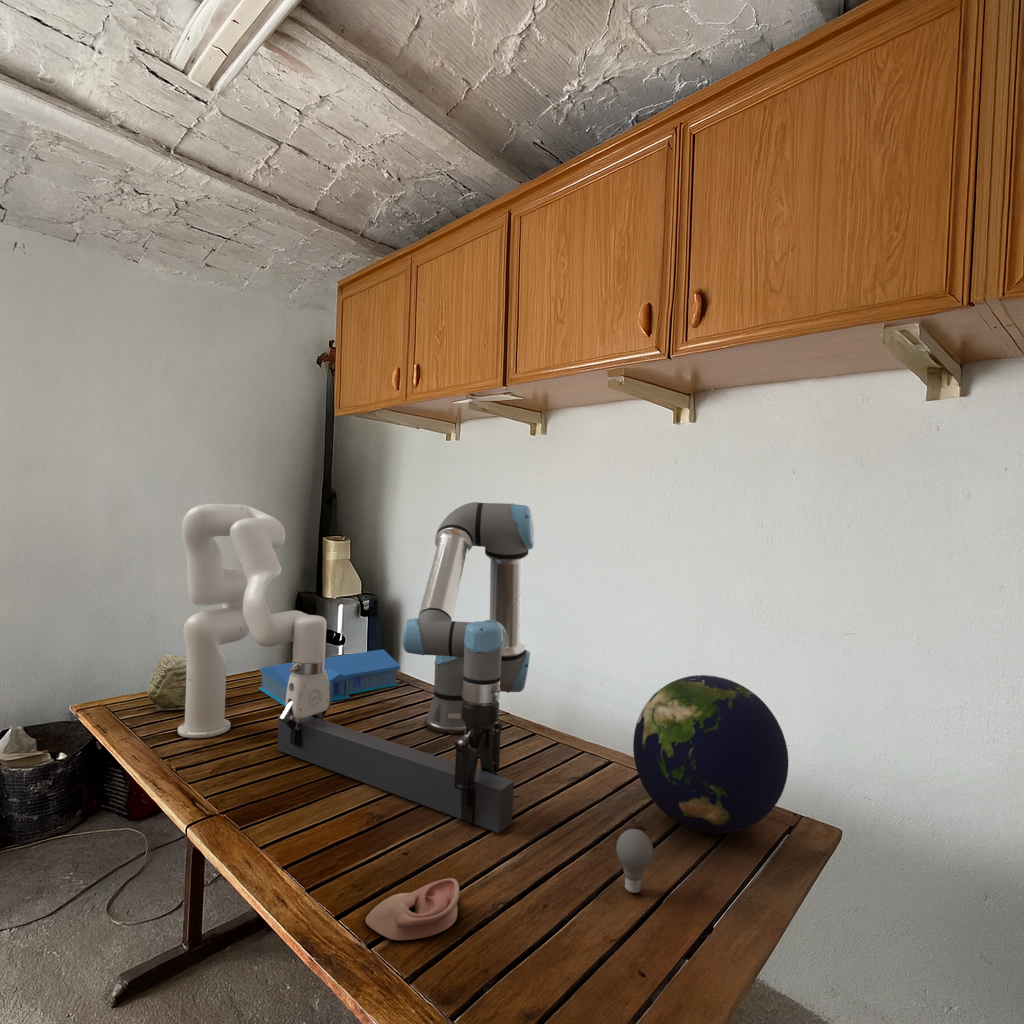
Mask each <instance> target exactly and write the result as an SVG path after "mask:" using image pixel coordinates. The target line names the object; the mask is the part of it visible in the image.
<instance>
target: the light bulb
mask: <svg viewBox="0 0 1024 1024" xmlns="http://www.w3.org/2000/svg"><path fill="white" fill-rule="evenodd" d="M615 849H616V854H617V857H618V859H619V861H620V863H621V865H622V867H623V873H624V874H623V875H624V876H625V878H624V888H625V890H627V891H628V892H630V893H634V894H635V893H639V892H640V891H641V889H642V887H641V886H642V879H643V877H644V875H645V871H646V868H647V867H648V866H649V864H650V863H651V861H652V859H653V855H654V847H653V843H652V841H651V838H649V836H648V835H647V834H646V833H645V832H643V831H642V830H641V829H636V828H629V829H627V830H625V831H623V832H622V833H621V834H620V835H619V837H618V839H617V841H616V847H615Z"/></svg>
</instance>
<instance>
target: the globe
mask: <svg viewBox="0 0 1024 1024" xmlns="http://www.w3.org/2000/svg"><path fill="white" fill-rule="evenodd" d="M632 742H633V743H632V744H633V747H632V750H633V759H634V764H635V768H636V771H637V775H638V778H639V780H640V783H641V784H642V786H643V787H644V790H645V791H646V794H648V796H649V798H650V799H651V800H652V802H653V803H654V804H655V805H656V806H657V808H658V809H660V810H661V811H662V812H663V813H664V814H665V815H667V816H668V817H669V818H670V819H672V820H674V821H675V822H676V823H678V824H680V825H682V826H684V827H686V828H689V829H691V830H694V831H698V832H701V833H705V834H714V835H723V834H731V833H732V834H733V833H737V832H740V831H744V830H746V829H748V828H750V827H753V826H754V825H756V824H758V823H759V822H760V821H762V820H763V819H764V818H765V817H766V816H768V815H769V813H771V811H772V810H773V809H774V807H775V806H776V805H777V804H778V802H779V800H780V798H781V797H782V794H783V792H784V790H785V787H786V785H787V784H786V783H787V779H788V775H789V752H788V746H787V742H786V738H785V734H784V732H783V729H782V728H781V725H780V723H779V722H778V719H777V718H776V717H775V715H774V713H773V712H772V710H771V709H770V708H769V706H768V705H767V704H766V703H765V702H764V701H763V700H762V699H761V698H760V697H759V696H758V695H757V694H756V693H754V692H753V691H751V689H748V688H747V687H746V686H744V685H742V684H740V683H738V682H736V681H733V680H732V679H728V678H725V677H720V676H719V675H718V676H717V675H711V674H699V675H696V674H695V675H689V676H685V677H681V678H677V679H675V680H673V681H671V682H669V683H667V684H666V685H664V686H662V687H661V688H659V689H658V690H657V691H656V692H655V693H653V695H652V696H651V697H650V698H649V699H648V701H646V703H645V704H644V706H643V708H642V710H641V712H640V713H639V715H638V717H637V720H636V724H635V727H634V733H633V741H632Z"/></svg>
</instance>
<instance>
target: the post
mask: <svg viewBox="0 0 1024 1024" xmlns="http://www.w3.org/2000/svg"><path fill="white" fill-rule="evenodd" d="M281 715H282V714H281ZM281 715H278V721H277V743H276V744H277V745H276V750H277V751H278V752H281V753H284V754H286V755H290V756H292V757H294V758H297V759H300V760H302V761H305V762H308V763H310V764H312V765H313V764H314V765H316V766H318V767H321V768H324V769H326V770H329V771H332V772H335V773H337V774H340V775H342V776H345V777H348V778H350V779H353V780H356V781H358V782H361V783H364V784H366V785H369V786H372V787H373V788H377V789H379V790H382V791H385V792H387V793H390V794H393V795H395V796H398V797H401V798H403V799H406V800H409V801H411V802H414V803H417V804H420V805H422V806H425V807H426V808H430V809H432V810H435V811H438V812H441V813H443V814H445V815H449V816H451V817H454V818H457V819H459V820H462V819H461V790H459V789H456V788H455V787H454V781H455V762H456V761H453V760H450V759H446V758H444V757H441V756H437V755H434V754H431V753H427V752H425V751H421V750H420V749H419V750H418V749H416V748H411V747H409V746H405V745H404V744H400V743H396V742H393V741H390V740H387V739H384V738H382V737H381V738H380V737H378V736H374V735H372V734H368V733H366V732H362V731H359V730H355V729H352V728H350V727H347V726H344V725H340V724H337V723H334V722H331V721H328V720H324V719H323V720H322V719H319V718H315V717H312V716H309V717H306V718H303V719H302V721H301V725H300V729H301V730H302V734H301V746H299V747H298V746H295V745H292V744H290V731H291V728H289V727H288V726H287V725H286V724H285V723H284V722H282V721H281V720H280V717H281ZM290 717H291V715H290V716H289V719H290ZM296 720H297V719H295V723H296ZM473 789H476V791H475V814H474V822H473V823H471V824H473V825H475V826H478V827H481V828H483V829H486V830H489V831H491V832H494V833H496V834H500V833H501V832H502V831H504V830H505V829H506V828H508V827H509V826H510V825H512V824H513V810H514V791H515V790H514V789H515V780H512V779H509V778H506V777H503V776H500V775H498V774H497V775H494V774H490V773H487V772H484V771H481V769H477V768H476V774H475V779H474V785H473ZM463 821H465V820H463ZM465 822H466V821H465Z"/></svg>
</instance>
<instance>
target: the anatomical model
mask: <svg viewBox="0 0 1024 1024" xmlns="http://www.w3.org/2000/svg"><path fill="white" fill-rule="evenodd" d="M459 898H460V885H459V882H458V880H457V879H455V878H453V877H448V878H442V879H438V880H436V881H433V882H430V883H428V884H426V885H424V886H422V887H419V888H417V889H416V890H413V891H412V892H400V893H397V894H396V893H395V894H393V895H391V896H389V897H387V898H385V899H384V900H382V901H381V902H380V903H378V904H377V905H376V906H375V907H373V908H372V909H371V910H370V912H369V913H368V914H367V915H366V917H365V923H366V925H367V926H368V927H369V928H370V929H371V930H373V931H374V932H376V933H377V934H378V935H380V936H383V937H384V938H387V939H389V940H391V941H399V942H400V941H409V940H416V939H422V938H428V937H431V936H435V935H438V934H440V933H442V932H444V931H446V930H447V929H449V928H451V927H452V926H453V925H454V924H455V922H456V920H457V917H458V909H459V908H458V902H459Z"/></svg>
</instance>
